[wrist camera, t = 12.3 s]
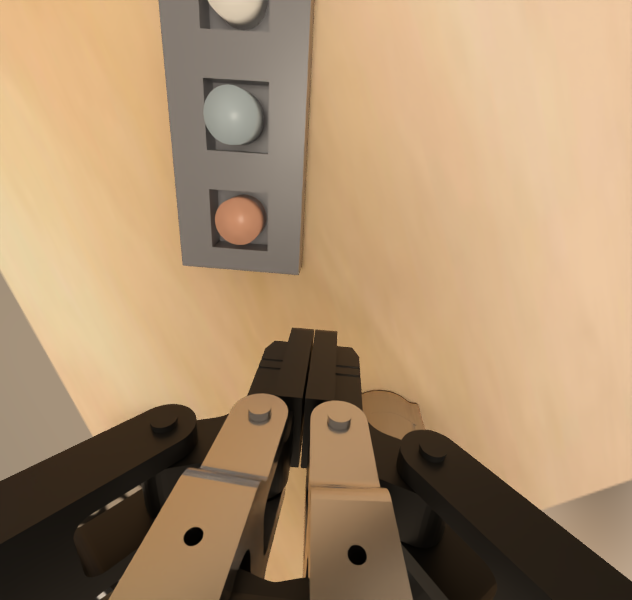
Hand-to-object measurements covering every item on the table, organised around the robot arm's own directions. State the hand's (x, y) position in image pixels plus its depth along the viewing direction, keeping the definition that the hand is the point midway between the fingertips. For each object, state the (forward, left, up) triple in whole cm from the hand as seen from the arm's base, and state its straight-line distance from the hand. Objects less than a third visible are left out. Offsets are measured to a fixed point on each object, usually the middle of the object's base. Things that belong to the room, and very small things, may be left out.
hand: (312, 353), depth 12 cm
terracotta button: (+9, +1, -27) cm, 28 cm away
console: (+9, -8, -27) cm, 30 cm away
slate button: (+9, -8, -25) cm, 28 cm away
